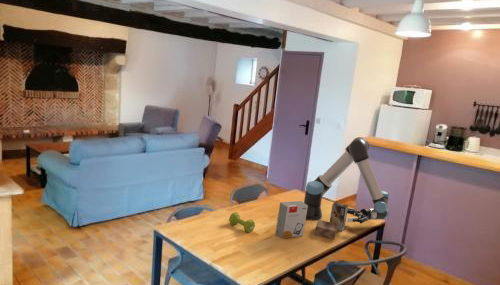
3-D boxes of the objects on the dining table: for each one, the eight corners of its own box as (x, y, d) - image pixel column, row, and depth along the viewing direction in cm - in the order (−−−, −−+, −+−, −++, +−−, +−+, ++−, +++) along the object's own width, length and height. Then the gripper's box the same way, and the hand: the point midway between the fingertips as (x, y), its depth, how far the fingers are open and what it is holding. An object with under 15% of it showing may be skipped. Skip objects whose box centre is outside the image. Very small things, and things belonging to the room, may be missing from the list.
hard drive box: (281, 239, 207) (286, 206, 203) (275, 233, 213) (279, 202, 209) (303, 236, 214) (308, 204, 210) (296, 230, 221) (300, 200, 217)
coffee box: (345, 228, 232) (349, 205, 229) (342, 231, 227) (346, 208, 224) (331, 224, 237) (335, 201, 234) (328, 227, 231) (332, 203, 228)
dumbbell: (255, 231, 213) (256, 220, 212) (246, 234, 207) (247, 223, 206) (236, 221, 224) (237, 210, 222) (227, 224, 218) (228, 213, 217)
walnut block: (314, 235, 217) (315, 226, 216) (316, 228, 228) (318, 219, 227) (334, 240, 214) (335, 231, 213) (335, 232, 225) (337, 223, 224)
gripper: (379, 227, 228) (352, 229, 220) (355, 212, 250) (330, 213, 242) (381, 216, 226) (354, 218, 218) (357, 202, 249) (331, 203, 241)
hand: (341, 215), depth 230 cm, fingers open, 13 cm apart
